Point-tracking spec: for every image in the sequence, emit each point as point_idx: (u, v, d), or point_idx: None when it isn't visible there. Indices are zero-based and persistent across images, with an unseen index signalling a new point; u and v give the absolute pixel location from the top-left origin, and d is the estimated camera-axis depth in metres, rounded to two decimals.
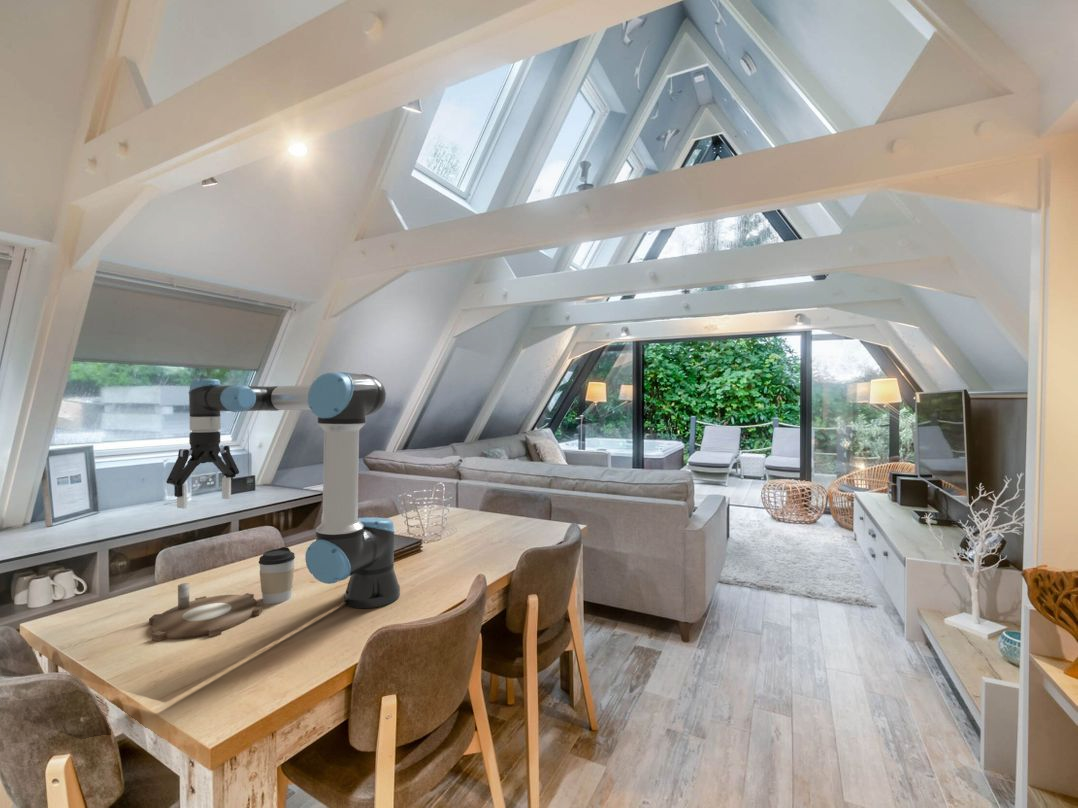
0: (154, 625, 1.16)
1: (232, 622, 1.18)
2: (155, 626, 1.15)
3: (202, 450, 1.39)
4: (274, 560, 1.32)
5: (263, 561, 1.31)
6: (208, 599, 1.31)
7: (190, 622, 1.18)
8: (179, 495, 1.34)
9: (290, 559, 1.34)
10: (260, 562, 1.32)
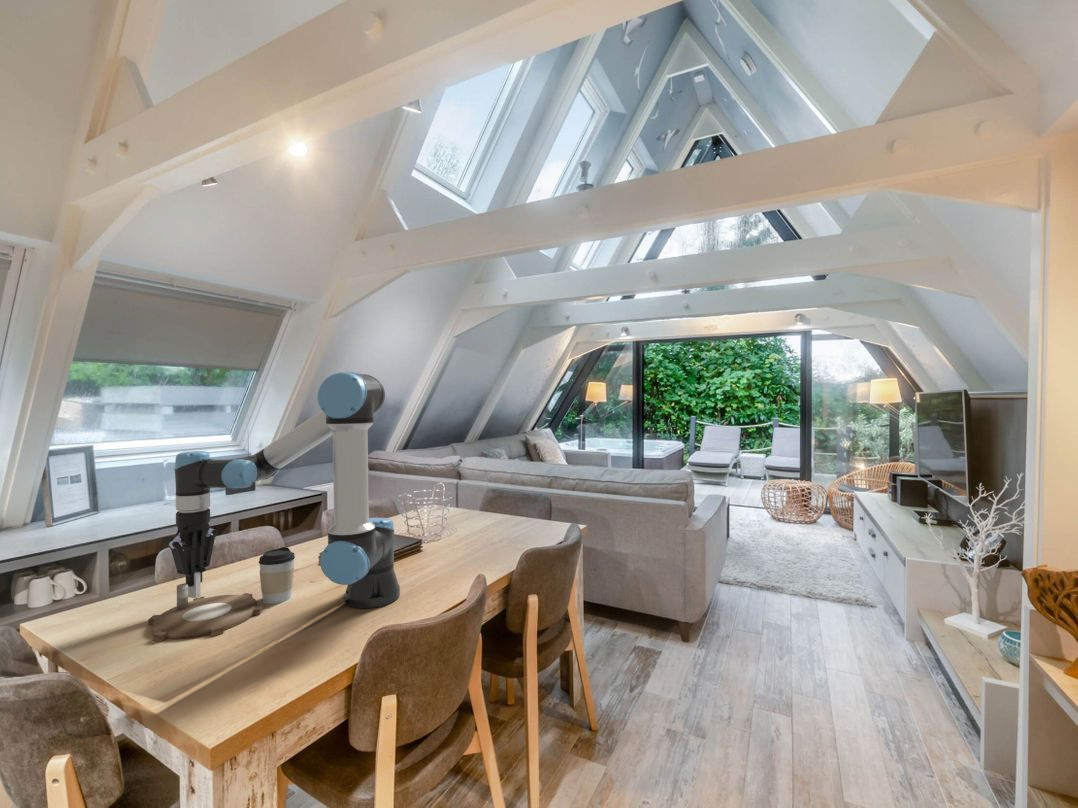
0: (154, 626, 1.16)
1: (234, 621, 1.19)
2: (156, 626, 1.15)
3: (189, 529, 1.26)
4: (274, 560, 1.32)
5: (263, 561, 1.31)
6: (206, 599, 1.31)
7: (191, 622, 1.18)
8: (191, 585, 1.27)
9: (290, 559, 1.34)
10: (260, 562, 1.32)
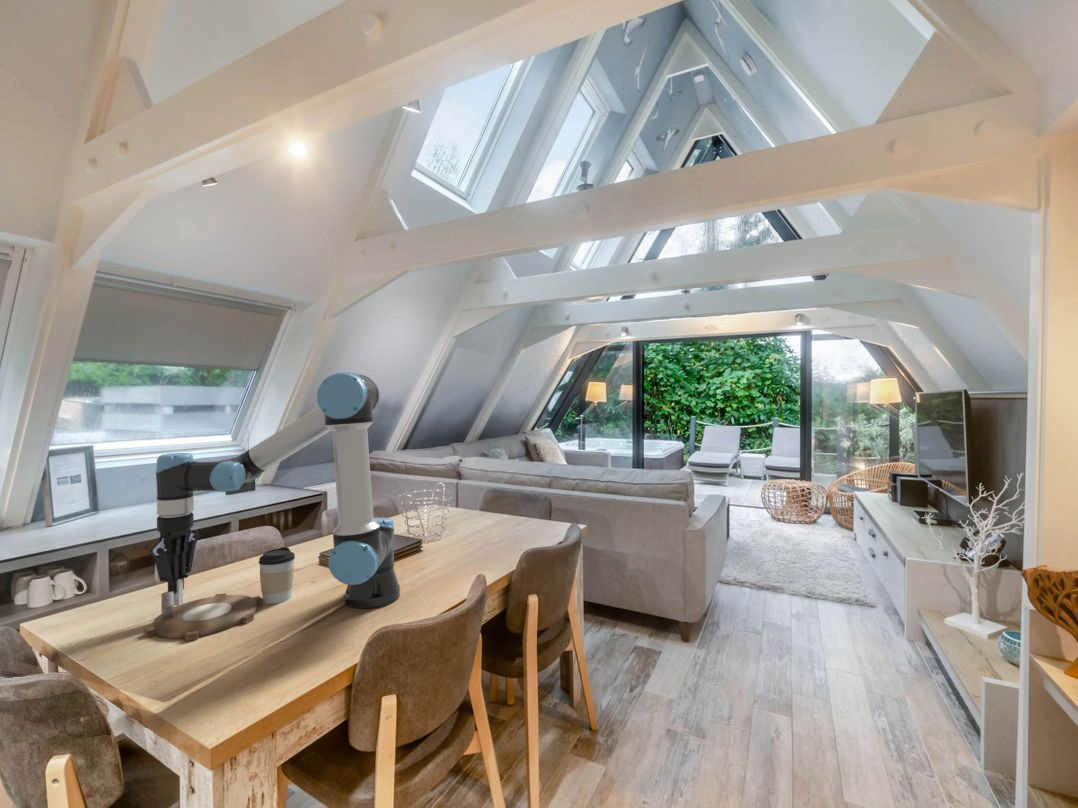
0: (170, 631, 1.13)
1: (254, 609, 1.25)
2: (174, 631, 1.13)
3: (172, 534, 1.21)
4: (274, 560, 1.32)
5: (263, 561, 1.31)
6: (181, 607, 1.26)
7: (208, 620, 1.19)
8: (174, 592, 1.22)
9: (290, 559, 1.34)
10: (260, 562, 1.32)
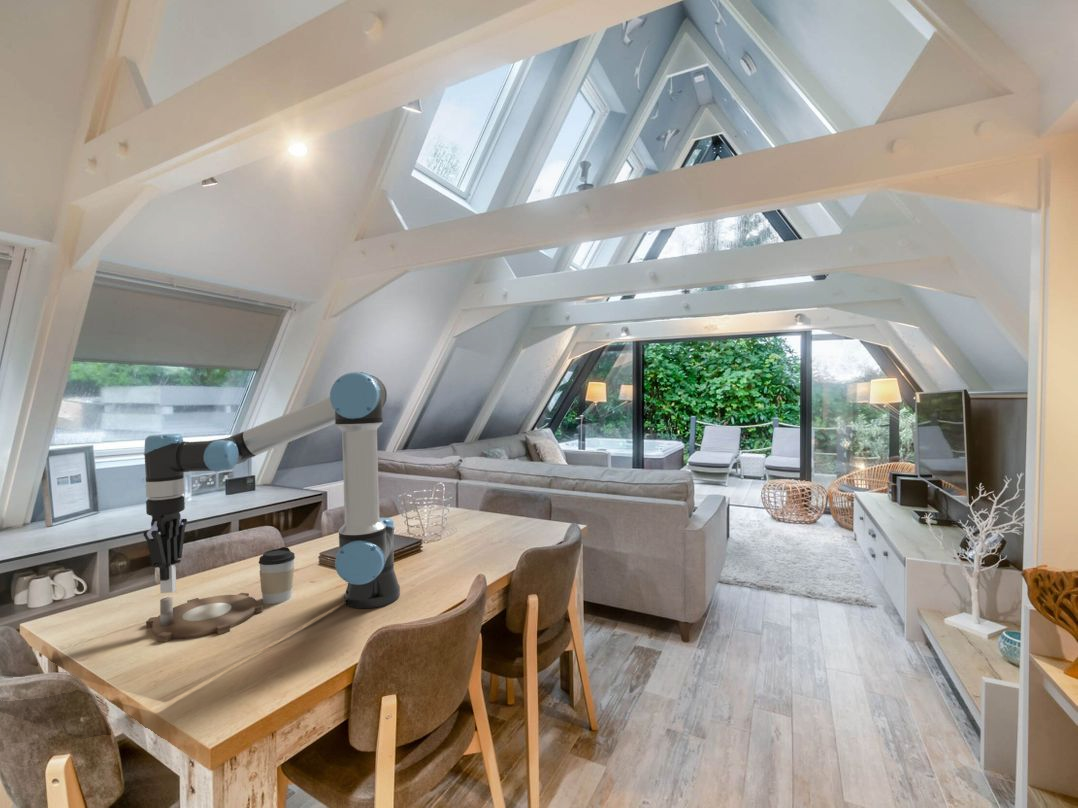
0: (196, 630, 1.14)
1: None
2: (200, 629, 1.14)
3: (165, 517, 1.17)
4: (274, 560, 1.32)
5: (263, 561, 1.31)
6: None
7: (222, 615, 1.21)
8: (167, 578, 1.18)
9: (290, 559, 1.34)
10: (260, 562, 1.32)
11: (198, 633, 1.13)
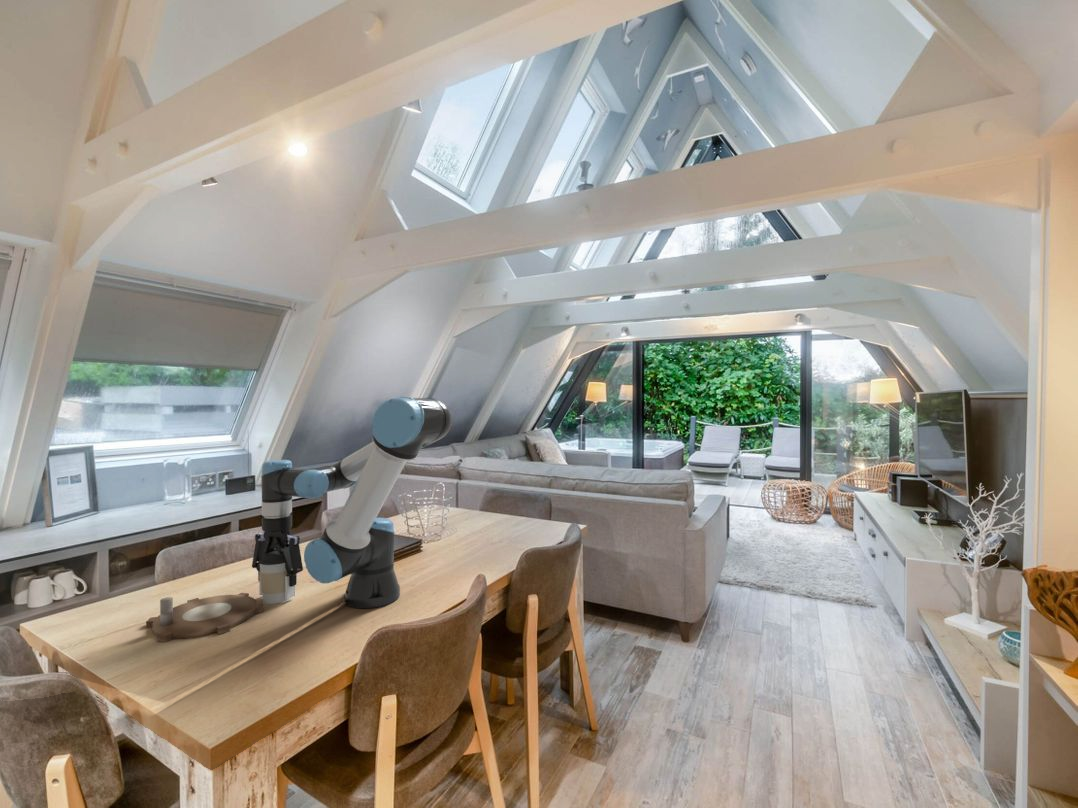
0: (196, 630, 1.14)
1: None
2: (200, 629, 1.14)
3: (269, 533, 1.35)
4: (274, 560, 1.32)
5: (263, 561, 1.32)
6: None
7: (222, 615, 1.21)
8: None
9: None
10: (260, 562, 1.32)
11: (198, 633, 1.13)
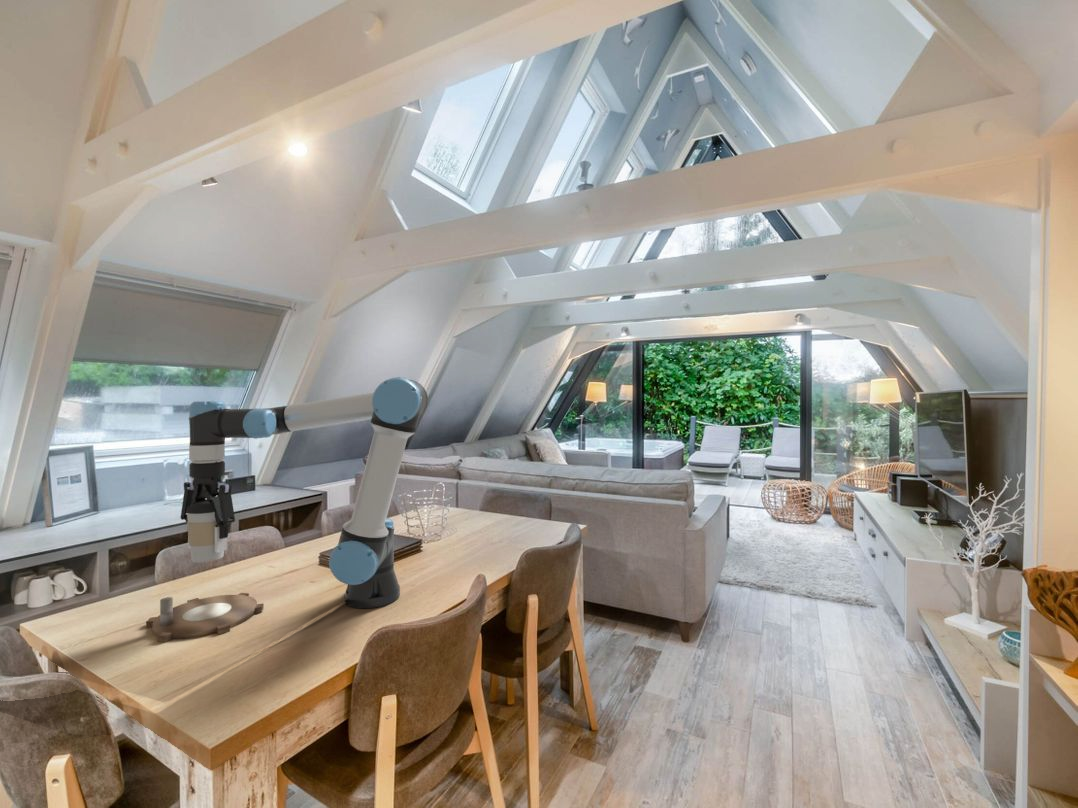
0: (196, 630, 1.14)
1: None
2: (200, 629, 1.14)
3: (198, 481, 1.23)
4: (202, 509, 1.20)
5: (190, 510, 1.19)
6: None
7: (222, 615, 1.21)
8: None
9: None
10: (187, 511, 1.20)
11: (198, 633, 1.13)
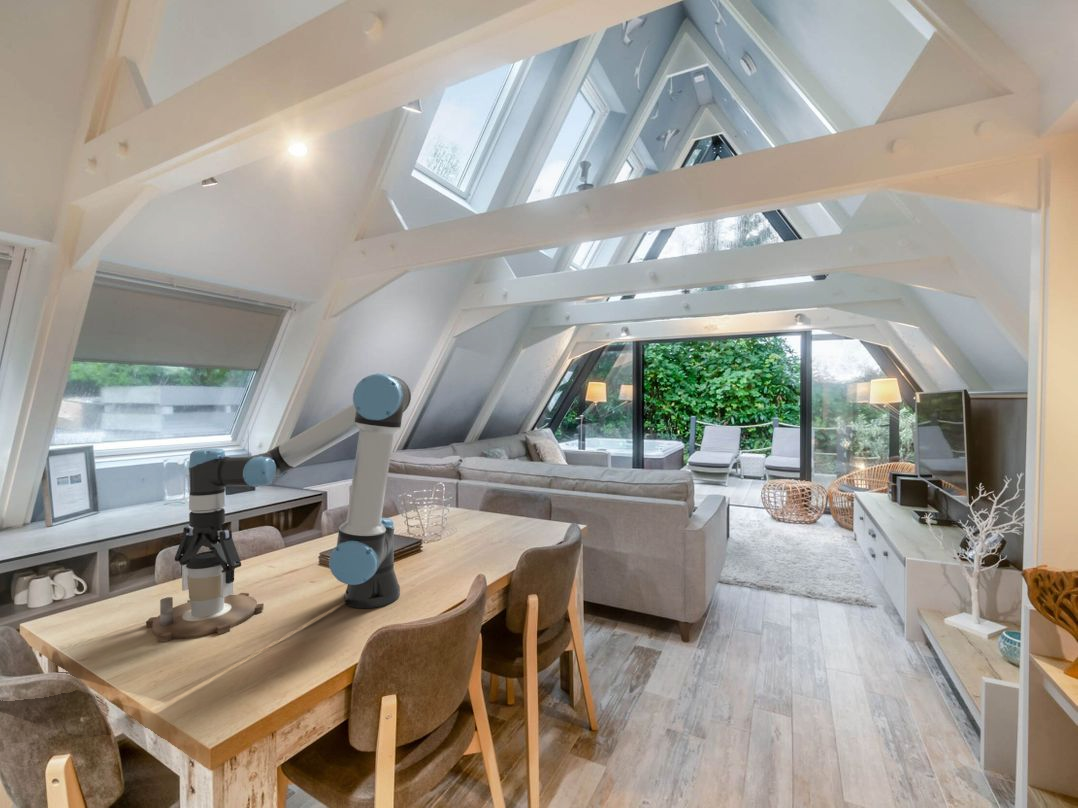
0: (196, 630, 1.14)
1: None
2: (200, 629, 1.14)
3: (198, 531, 1.23)
4: (202, 564, 1.20)
5: (190, 565, 1.19)
6: None
7: (222, 615, 1.21)
8: (182, 574, 1.25)
9: None
10: (187, 566, 1.20)
11: (198, 633, 1.13)
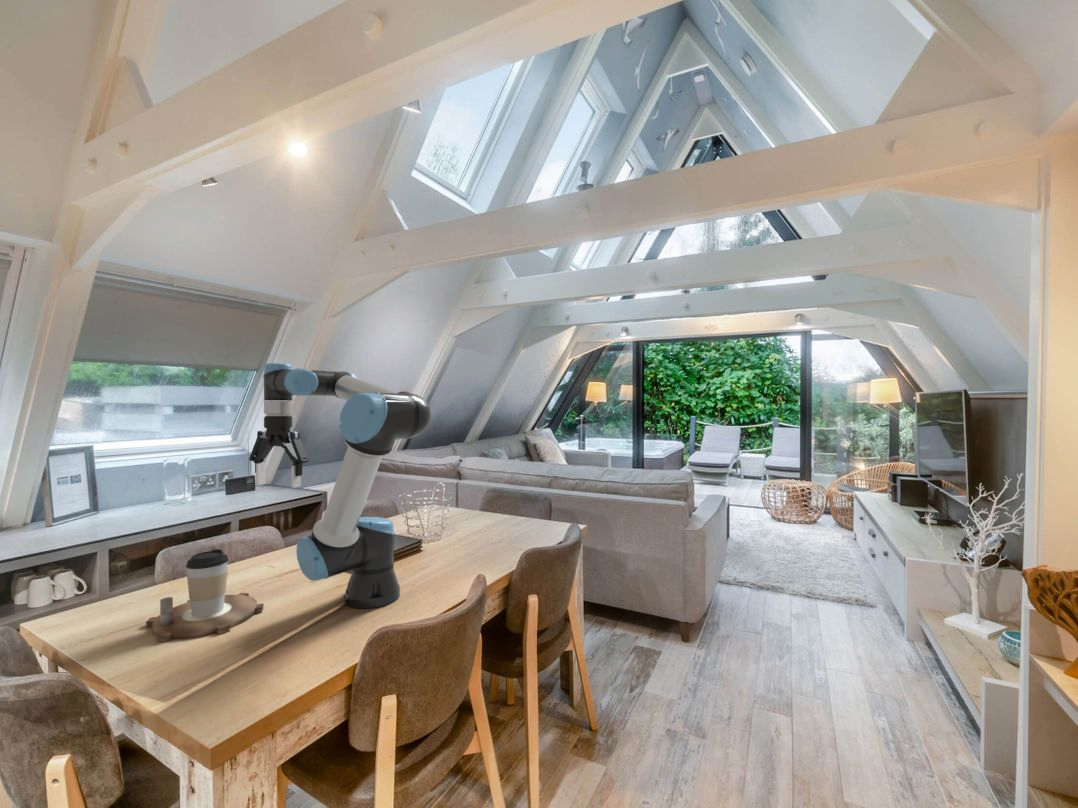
0: (196, 630, 1.14)
1: None
2: (200, 629, 1.14)
3: (270, 433, 1.43)
4: (202, 564, 1.20)
5: (190, 565, 1.19)
6: None
7: (222, 615, 1.21)
8: (256, 472, 1.46)
9: (221, 562, 1.22)
10: (187, 566, 1.20)
11: (198, 633, 1.13)
